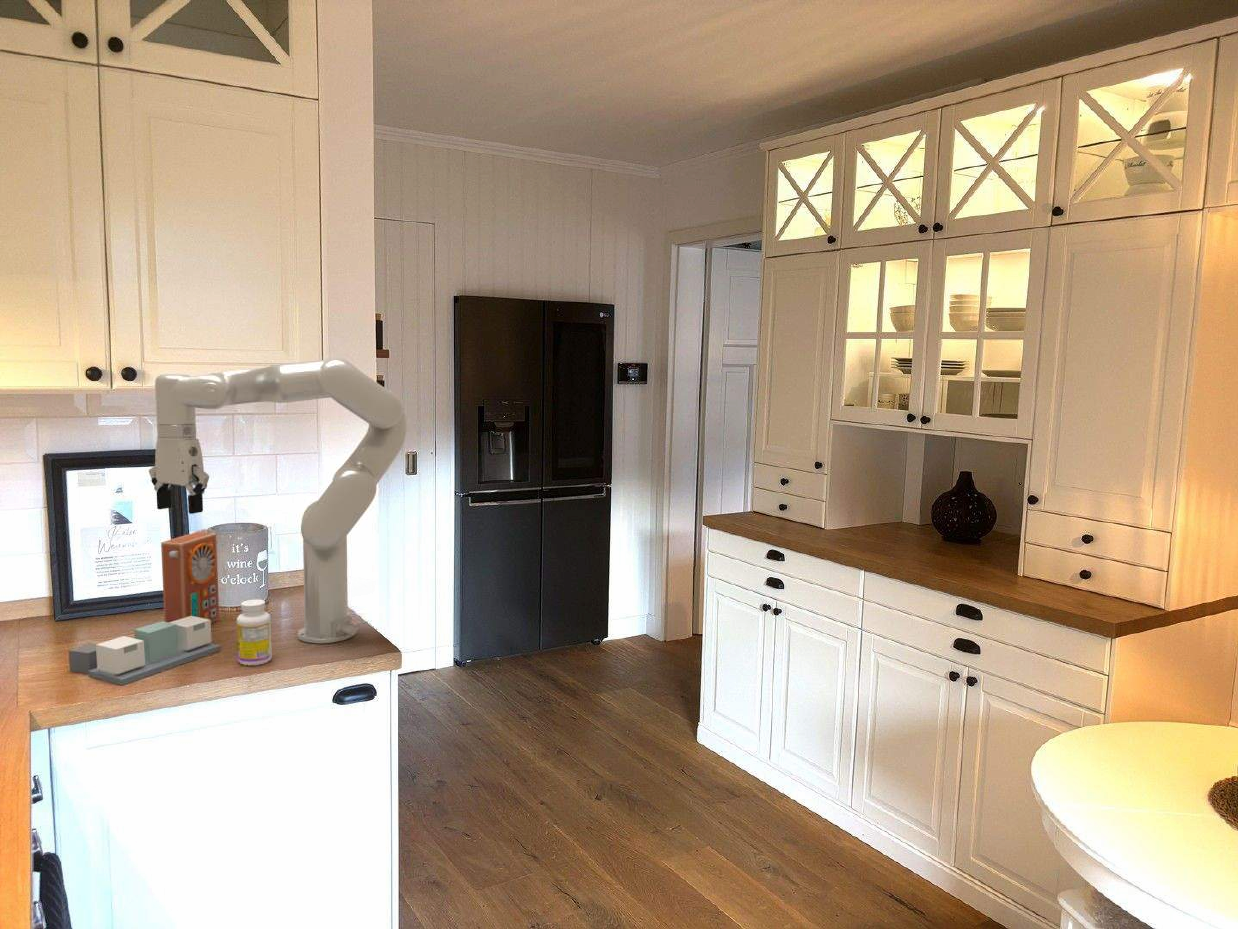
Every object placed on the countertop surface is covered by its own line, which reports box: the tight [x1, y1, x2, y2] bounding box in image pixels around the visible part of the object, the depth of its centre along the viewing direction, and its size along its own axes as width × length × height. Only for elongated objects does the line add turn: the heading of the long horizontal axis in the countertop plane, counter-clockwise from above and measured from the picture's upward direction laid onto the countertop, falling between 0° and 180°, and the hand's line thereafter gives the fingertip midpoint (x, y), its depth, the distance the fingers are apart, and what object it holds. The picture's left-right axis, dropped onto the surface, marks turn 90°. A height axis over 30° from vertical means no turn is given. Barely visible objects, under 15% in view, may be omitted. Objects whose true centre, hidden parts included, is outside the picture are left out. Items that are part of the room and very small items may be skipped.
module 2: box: [134, 620, 178, 661], centre depth 186 cm, size 4×6×6 cm
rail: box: [100, 643, 209, 676], centre depth 186 cm, size 4×22×1 cm, turn 155°
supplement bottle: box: [236, 598, 273, 666], centre depth 188 cm, size 7×7×13 cm
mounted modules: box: [95, 616, 212, 674], centre depth 186 cm, size 6×22×5 cm, turn 155°
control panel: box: [160, 531, 221, 624], centre depth 209 cm, size 21×7×15 cm
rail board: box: [88, 642, 221, 686], centre depth 186 cm, size 10×23×1 cm, turn 155°
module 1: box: [68, 642, 97, 675], centre depth 182 cm, size 5×5×4 cm
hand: (180, 510), depth 194 cm, fingers open, 9 cm apart
